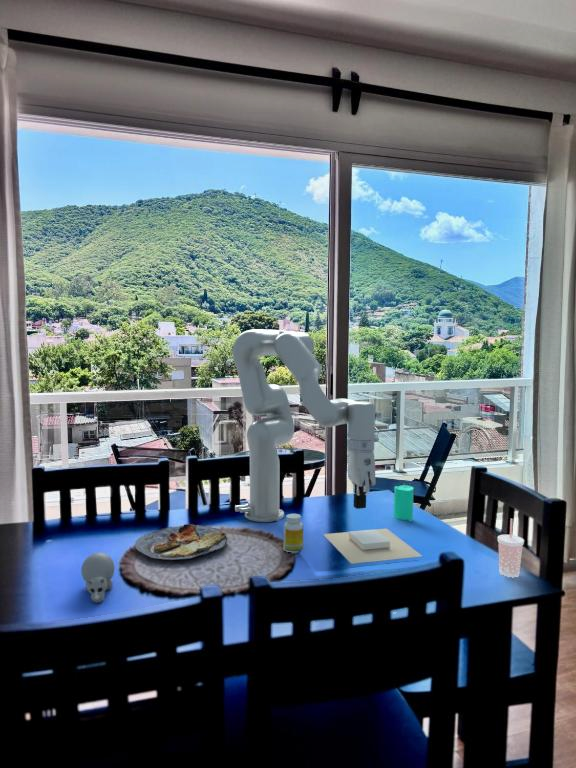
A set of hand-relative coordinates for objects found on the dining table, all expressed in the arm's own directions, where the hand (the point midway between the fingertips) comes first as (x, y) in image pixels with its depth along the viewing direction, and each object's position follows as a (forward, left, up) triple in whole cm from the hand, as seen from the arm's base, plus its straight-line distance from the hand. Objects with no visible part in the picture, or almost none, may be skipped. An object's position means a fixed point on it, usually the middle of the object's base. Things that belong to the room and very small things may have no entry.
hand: (359, 507), depth 166 cm
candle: (+20, +12, -9) cm, 25 cm away
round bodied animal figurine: (-71, -18, -9) cm, 74 cm away
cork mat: (0, -8, -9) cm, 12 cm away
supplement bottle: (-21, -4, -9) cm, 23 cm away
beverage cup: (+26, -32, -9) cm, 43 cm away
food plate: (-50, +6, -10) cm, 51 cm away
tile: (0, -2, -7) cm, 7 cm away
